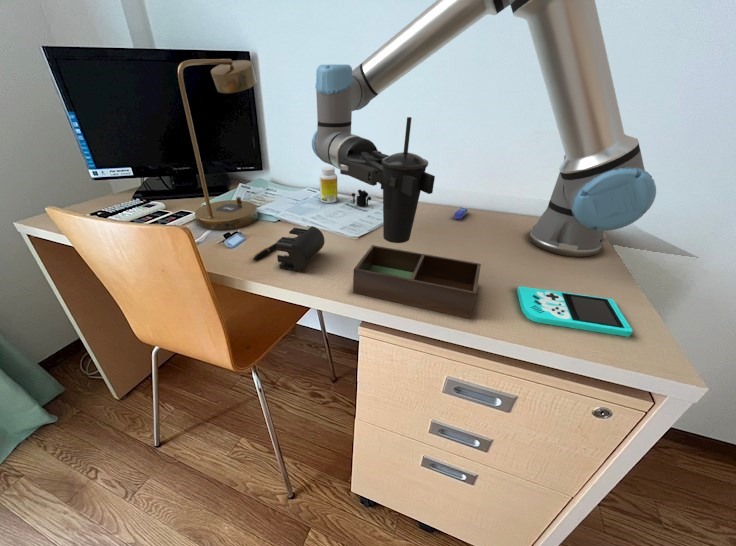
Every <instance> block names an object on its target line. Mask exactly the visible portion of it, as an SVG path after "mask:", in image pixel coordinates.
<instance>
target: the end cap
mask: <svg viewBox="0 0 736 546" xmlns="http://www.w3.org/2000/svg"><path fill="white" fill-rule="evenodd" d="M288 233H289V235H296V237H290V238H288V237H286V236H282V237H281V238H280V239H278V240H277V241H276V242H275V243H276V251H278V252H285V253H287V254H288V255H286V254H284V255H282V254H278V255H277V256H276V257H277V262H278V263H279V264H278V265H279V266H278V267H279V268H280V269H282V270H287V271H291V272H298V271H300V270H302V269H303V268H304V267H305V266H306V265H307V264H308V263H309V262H310V261H311V260H312V259H313V258H314V257H315V256H316V255H317V254H318V253H319V252H320V251H321V250H322V249H323V247H324V246H325V236H324V234H323V232H322V231H321V230H320V229H319V228H318V227H315V226H313V225H311V226H309V228H308V229H306V228H301V227H293V228H291V230H289V231H288Z"/></svg>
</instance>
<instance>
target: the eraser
mask: <svg viewBox="0 0 736 546" xmlns="http://www.w3.org/2000/svg"><path fill="white" fill-rule="evenodd" d="M468 210H469V207H467V206H461V207H460V208H458V209H457V210H456V211H455V212H454V216H453V217H454V218H453V219H455V220H459V221H460V220H462V219H463V217H464V216H466V215H467V213H468Z"/></svg>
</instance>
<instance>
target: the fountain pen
mask: <svg viewBox="0 0 736 546" xmlns="http://www.w3.org/2000/svg"><path fill="white" fill-rule="evenodd" d="M287 238H292V237H291V236H288V237H287ZM275 249H276V242H274V244H272V245H271V246H269V247H268V246H267V247H266V248H265V247H263V248H261V250H259V251H258V252H256V253H255V254H254V255H253V258H252V260H254V261H257V260H259V259H262V258H263V257H265V256H267V255H268V254H270V253H271V252H272V251H275Z"/></svg>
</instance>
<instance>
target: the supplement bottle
mask: <svg viewBox="0 0 736 546" xmlns="http://www.w3.org/2000/svg"><path fill="white" fill-rule="evenodd" d="M335 169H336V167H334V166H323V167H322V168H321V174H319V198H320V199H319V200H320V201H321V202H322V203H325V204H332V203H335V202H337V201H338V175H337V174H336V170H335Z"/></svg>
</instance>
